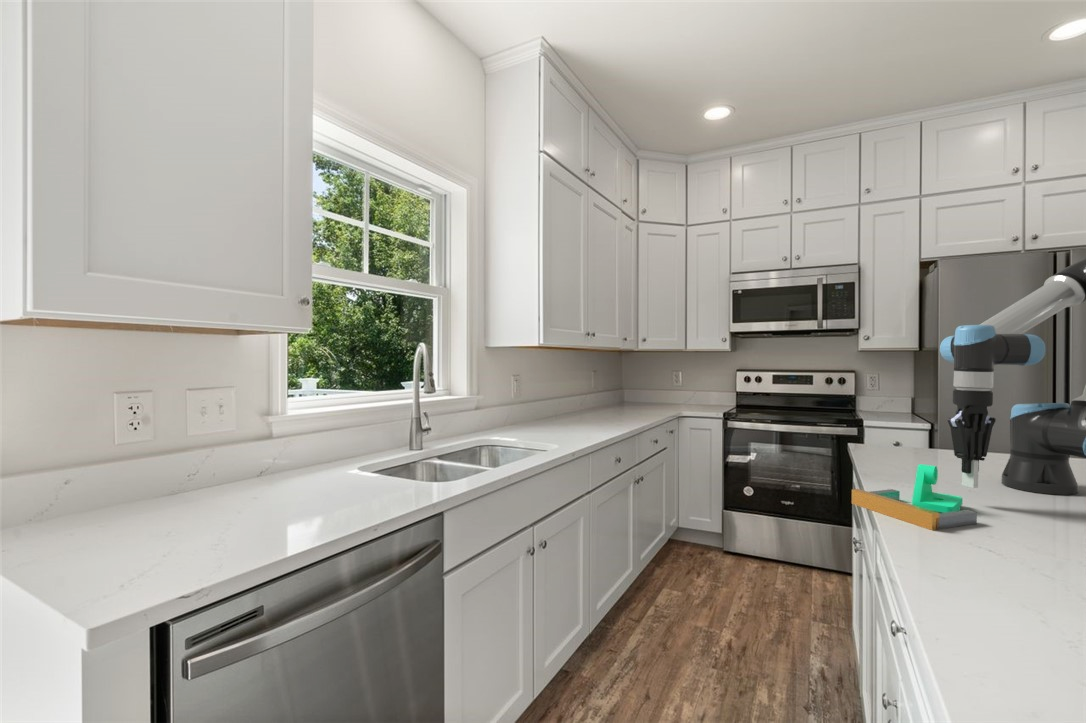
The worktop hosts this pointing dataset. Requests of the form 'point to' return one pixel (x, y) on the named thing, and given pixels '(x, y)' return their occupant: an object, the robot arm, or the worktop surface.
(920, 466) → the camera mount
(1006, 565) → the worktop surface
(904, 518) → the dock
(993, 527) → the worktop surface
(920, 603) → the worktop surface
